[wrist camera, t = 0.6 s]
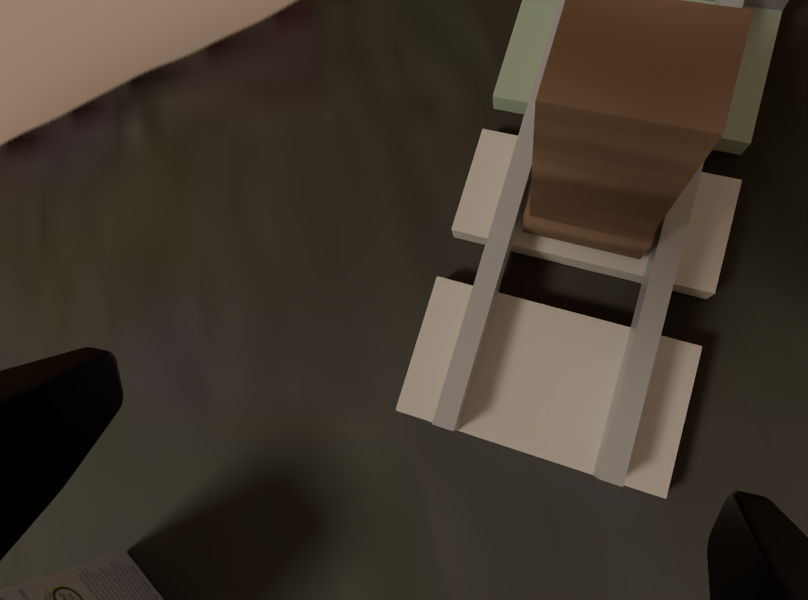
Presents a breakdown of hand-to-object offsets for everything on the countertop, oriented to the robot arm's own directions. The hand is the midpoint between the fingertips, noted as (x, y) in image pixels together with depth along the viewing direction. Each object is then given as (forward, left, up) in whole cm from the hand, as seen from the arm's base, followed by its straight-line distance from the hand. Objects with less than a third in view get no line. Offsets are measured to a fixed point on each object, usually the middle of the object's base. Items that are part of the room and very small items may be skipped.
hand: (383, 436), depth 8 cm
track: (+6, -8, -15) cm, 18 cm away
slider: (+6, -8, -14) cm, 17 cm away
